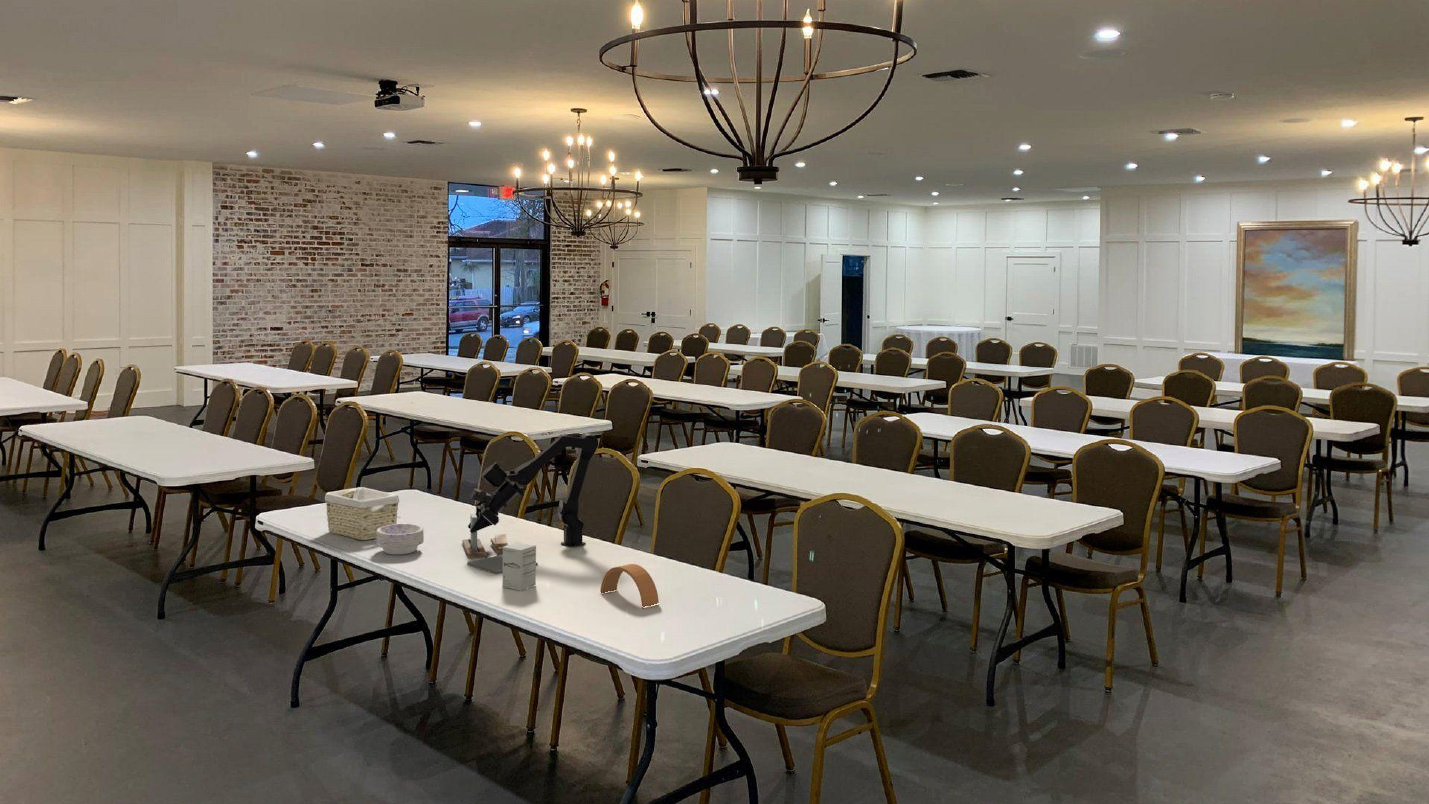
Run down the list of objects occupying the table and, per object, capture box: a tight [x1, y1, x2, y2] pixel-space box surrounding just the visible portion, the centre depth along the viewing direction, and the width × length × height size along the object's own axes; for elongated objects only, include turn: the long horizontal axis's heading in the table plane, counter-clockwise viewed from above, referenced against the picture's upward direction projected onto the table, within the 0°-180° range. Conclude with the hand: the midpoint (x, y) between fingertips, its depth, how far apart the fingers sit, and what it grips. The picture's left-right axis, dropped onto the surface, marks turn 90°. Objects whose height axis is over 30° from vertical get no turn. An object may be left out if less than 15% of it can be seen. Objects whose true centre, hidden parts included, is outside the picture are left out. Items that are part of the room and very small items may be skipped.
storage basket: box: [324, 486, 400, 541], centre depth 387 cm, size 24×16×15 cm
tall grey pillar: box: [470, 513, 478, 553], centre depth 366 cm, size 2×6×12 cm, turn 18°
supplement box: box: [501, 542, 537, 592], centre depth 324 cm, size 7×7×13 cm
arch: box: [600, 563, 659, 607], centre depth 314 cm, size 6×20×10 cm, turn 43°
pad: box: [466, 554, 539, 575], centre depth 349 cm, size 16×16×1 cm
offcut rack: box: [461, 534, 509, 559], centre depth 368 cm, size 14×20×3 cm
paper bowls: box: [376, 523, 425, 556], centre depth 363 cm, size 15×15×8 cm
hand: (469, 530), depth 366 cm, fingers closed on tall grey pillar, 6 cm apart
